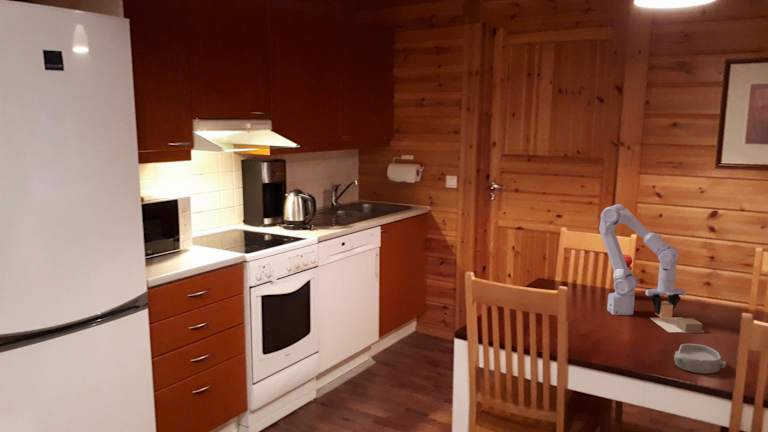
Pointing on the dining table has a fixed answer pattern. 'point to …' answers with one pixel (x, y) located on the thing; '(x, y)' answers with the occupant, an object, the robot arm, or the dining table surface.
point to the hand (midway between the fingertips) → (663, 313)
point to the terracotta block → (665, 310)
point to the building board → (667, 323)
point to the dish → (698, 359)
